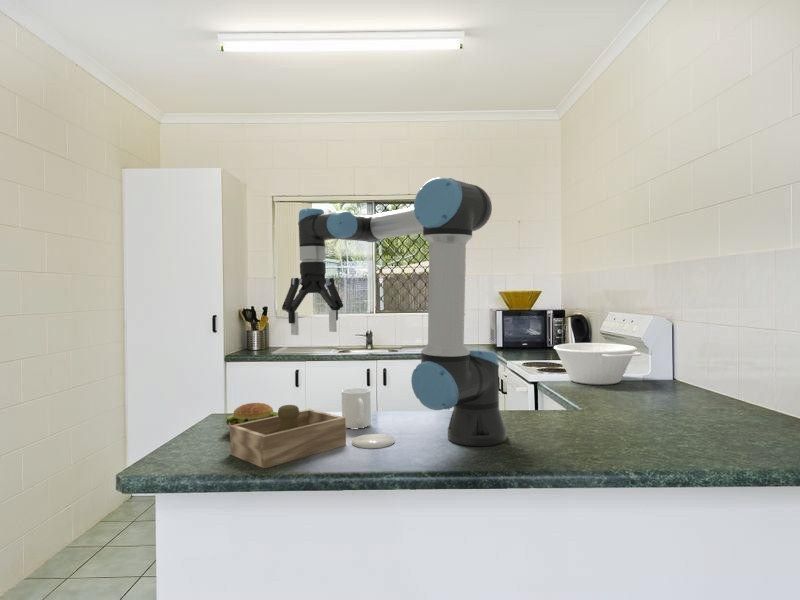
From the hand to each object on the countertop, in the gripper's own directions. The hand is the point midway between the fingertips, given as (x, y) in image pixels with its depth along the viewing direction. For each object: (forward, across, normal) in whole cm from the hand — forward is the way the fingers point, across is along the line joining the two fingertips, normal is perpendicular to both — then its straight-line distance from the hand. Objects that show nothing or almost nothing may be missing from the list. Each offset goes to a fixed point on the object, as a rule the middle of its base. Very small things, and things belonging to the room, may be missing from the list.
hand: (314, 333), depth 158 cm
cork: (+27, +20, +17) cm, 38 cm away
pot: (+27, -116, +30) cm, 123 cm away
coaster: (+27, +2, +28) cm, 39 cm away
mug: (+27, -4, +14) cm, 31 cm away
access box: (+27, +20, +17) cm, 38 cm away
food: (+27, +18, -6) cm, 33 cm away
